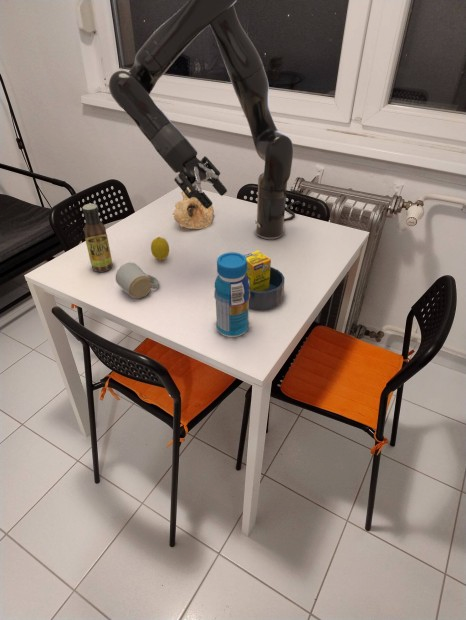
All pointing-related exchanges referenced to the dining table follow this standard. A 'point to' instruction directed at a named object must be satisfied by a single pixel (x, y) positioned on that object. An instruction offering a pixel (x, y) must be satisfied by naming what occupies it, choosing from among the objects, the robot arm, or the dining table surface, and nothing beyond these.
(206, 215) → the tan lumpy rounded piece
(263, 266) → the supplement box
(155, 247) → the lemon
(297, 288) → the dining table surface
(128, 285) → the ceramic mug
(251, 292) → the dark blue bowl
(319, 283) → the dining table surface
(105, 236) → the sauce bottle
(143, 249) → the dining table surface
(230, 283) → the beverage bottle
